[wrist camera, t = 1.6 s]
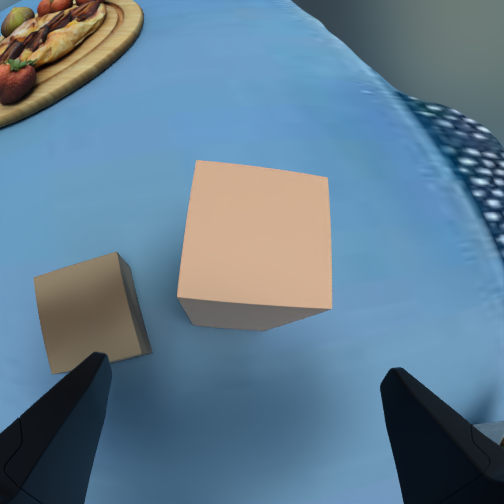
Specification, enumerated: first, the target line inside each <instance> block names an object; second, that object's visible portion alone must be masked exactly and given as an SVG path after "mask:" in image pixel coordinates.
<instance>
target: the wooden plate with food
mask: <svg viewBox="0 0 504 504" xmlns="http://www.w3.org/2000/svg"><path fill="white" fill-rule="evenodd" d="M143 22H144V14H143V10H142V9H141V7H140V6H139V5H138V4H137V3H136V2H134V1H132V0H42V1H41V2H40V3H39V5H38V8H37V14H34V12H33V10H32V9H30V8H28V7H18V8H17V7H14V8H13V9H12V10H11V12H10V13H9V14H8V15H7V17H6V18H5V20H4V21H3V24H2V27H1V33H2V36H0V127H3V126H6V125H9V124H11V123H14V122H16V121H19V120H21V119H23V118H25V117H28V116H30V115H32V114H34V113H36V112H38V111H39V110H41V109H43V108H45V107H47V106H49V105H51V104H53V103H54V102H56V101H58V100H59V99H61V98H63V97H64V96H66V95H68V94H69V93H71V92H73V91H74V90H76V89H77V88H79V87H80V86H82V85H83V84H85V83H87V82H88V81H90V80H91V79H92V78H94V77H95V76H97V75H98V74H99V73H101V72H102V71H103V70H105V69H106V68H107V67H108V66H110V65H111V64H112V63H113V62H115V61H116V60H117V59H118V58H119V57H120V56H121V55H122V54H123V53H125V52H126V50H127V49H128V48H129V47H130V46H131V45H132V44H133V43H134V41H135V40H136V38H137V37H138V35H139V33H140V32H141V29H142V26H143Z"/></svg>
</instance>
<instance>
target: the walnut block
mask: <svg viewBox="0 0 504 504" xmlns="http://www.w3.org/2000/svg"><path fill="white" fill-rule="evenodd" d="M34 285H35V293H36V300H37V307H38V313H39V319H40V324H41V329H42V334H43V339H44V344H45V348H46V352H47V357H48V361H49V365H50V368H51V372H52V374H59V373H67V372H71V371H72V370H73V369H74V368H75V367H76V366H77V365H79V364H80V363H81V362H82V361H83V360H84V359H86V358H87V357H88V356H89V355H90V354H91V353H93V352H95V351H96V352H102V353H106V354H107V355H108V358H109V363H110V364H111V363H115V362H119V361H123V360H127V359H131V358H135V357H139V356H143V355H147V354H150V353H153V352H152V349H151V346H150V342H149V339H148V336H147V332H146V329H145V325H144V321H143V318H142V314H141V310H140V307H139V303H138V299H137V295H136V291H135V287H134V282H133V278H132V274H131V269H130V267H129V265H128V264H127V263H126V262H125V261H124V260H123V259H122V257H121V256H120V255H119V254H118V253H117V252H114V253H111V254H107V255H104V256H101V257H97V258H94V259H91V260H87V261H84V262H81V263H78V264H74V265H71V266H68V267H65V268H62V269H58V270H55V271H52V272H49V273H46V274H43V275H40V276H37V277H34Z"/></svg>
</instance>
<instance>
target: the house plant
mask: <svg viewBox="0 0 504 504" xmlns="http://www.w3.org/2000/svg"><path fill="white" fill-rule="evenodd" d="M473 426H474V427H475V428H477V429H478V430H479V431H480V432H482V433H483V434H484V435H485V436H487V437H488V438H490V439H491V440H492V441H494V442H495V443H497V444H498V445H500V446H501V447H503V448H504V421H501V422H492V423H482V424H474V425H473Z"/></svg>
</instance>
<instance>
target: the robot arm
mask: <svg viewBox="0 0 504 504" xmlns="http://www.w3.org/2000/svg"><path fill="white" fill-rule="evenodd" d="M111 378H112V371H111V367H110V363H109V358H108V355H107V354H106V353H102V352H96V351H95V352H93V353H91V354H90V355H89V356H88V357H87V358H86V359H84V360H83V361H82V362H81V363H80V364H79V365H77V366H76V367H75V368H74V369H73V370H72V371H71V372H69V373H68V374H67V375H66V376H65V377H64V378H63V379H61V380H60V381H59V382H58V383H57V384H56V385H55V386H53V387H52V388H51V389H50V390H49V391H48V392H47V393H45V394H44V395H43V396H42V397H41V398H40V399H39V400H38V401H36V402H35V403H34V404H33V405H32V406H31V407H30V408H29V409H27V410H26V411H25V412H24V413H23V414H22V415H21V416H20V418H17V419H16V420H15V421H14V422H13V423H12V424H11V425H10V426H8V427H7V428H6V429H5V430H4V431H3V432H1V433H0V504H84V502H85V497H86V492H87V488H88V483H89V479H90V474H91V470H92V466H93V462H94V457H95V453H96V450H97V446H98V442H99V438H100V434H101V431H102V427H103V423H104V419H105V413H106V407H107V401H108V395H109V389H110V384H111ZM380 392H381V398H382V404H383V410H384V416H385V423H386V428H387V432H388V436H389V440H390V444H391V448H392V452H393V456H394V460H395V465H396V469H397V473H398V478H399V483H400V487H401V492H402V497H403V502H404V504H504V448H503V447H501V446H500V445H498V444H497V443H495V442H494V441H492V440H491V439H490V438H488V437H487V436H485V435H484V434H483V433H482V432H480V431H479V430H478V429H477V428H475V427H474V426H473V425H472V424H470V423H469V422H468V421H467V420H466V419H464V418H463V417H462V416H461V415H460V414H458V413H457V412H456V411H455V410H453V409H452V408H451V407H450V406H449V405H447V404H446V403H445V402H444V401H442V400H441V399H440V398H439V397H438V396H436V395H435V394H434V393H433V392H431V391H430V390H429V389H428V388H427V387H425V386H424V385H423V384H422V383H420V382H419V381H418V380H417V379H416V378H414V377H413V376H412V375H411V374H409V373H408V372H407V371H406V370H404V369H403V368H401V367H397V368H391V369H390V370H389V371H388V373H387V374H386V376H385V378H384V379H383V381H382V382H381V385H380Z"/></svg>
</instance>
